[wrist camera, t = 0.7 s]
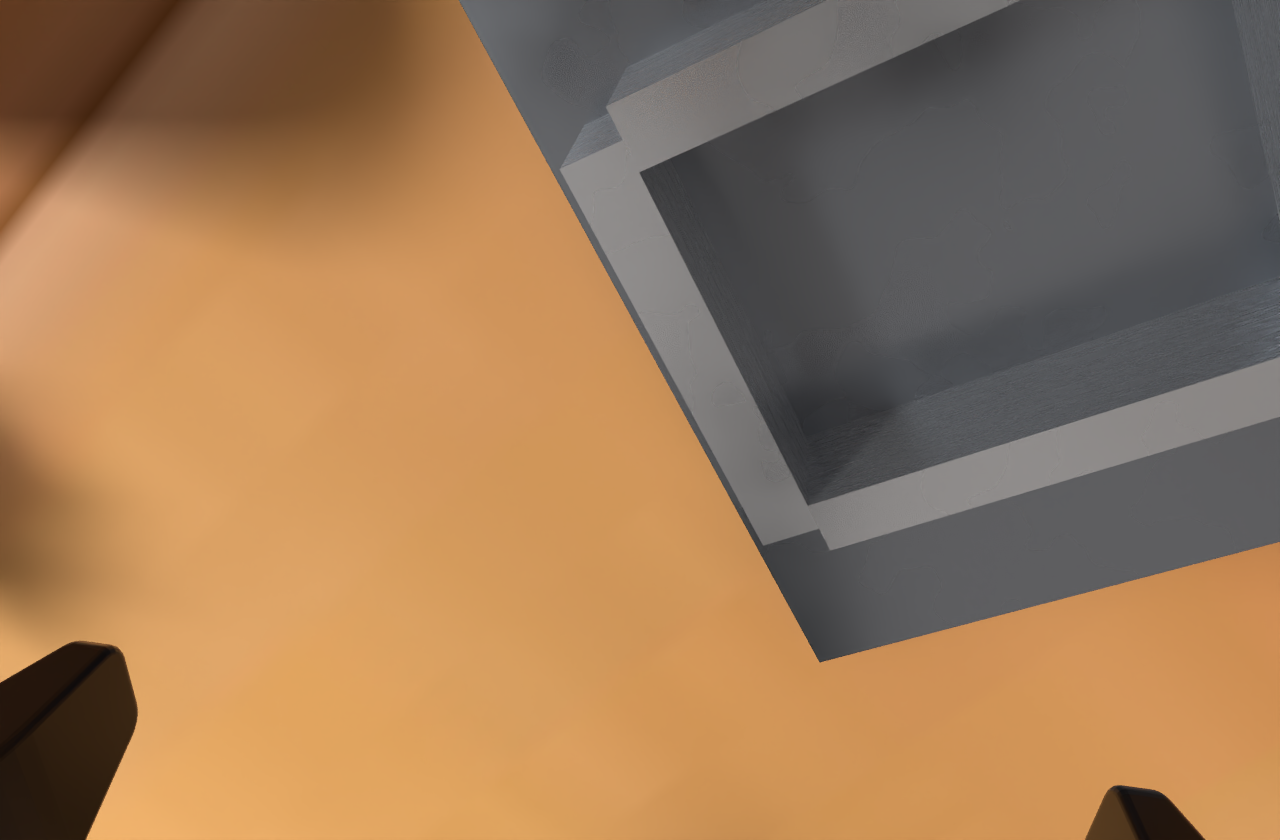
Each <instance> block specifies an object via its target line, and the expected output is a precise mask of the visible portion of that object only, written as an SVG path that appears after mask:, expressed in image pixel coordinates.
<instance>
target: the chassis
mask: <svg viewBox="0 0 1280 840" xmlns="http://www.w3.org/2000/svg"><path fill="white" fill-rule="evenodd" d="M459 1H460V3H461V5H462V7H463V9H464V11H465V12H466V14H467V16H468V18H469V20H470V22H471V23H472V25H473V27H474V29H475V31H476V33H477V34H478V36H479V38H480V40H481V42H482V44H483V45H484V47H485V49H486V51H487V53H488V55H489V56H490V58H491V60H492V62H493V64H494V66H495V67H496V69H497V71H498V73H499V75H500V77H501V79H502V80H503V82H504V84H505V86H506V88H507V90H508V91H509V93H510V95H511V97H512V99H513V101H514V102H515V104H516V106H517V108H518V110H519V112H520V113H521V115H522V117H523V119H524V121H525V123H526V124H527V126H528V128H529V130H530V132H531V134H532V135H533V137H534V139H535V141H536V143H537V145H538V146H539V148H540V150H541V152H542V154H543V156H544V157H545V159H546V161H547V163H548V165H549V167H550V168H551V170H552V172H553V174H554V176H555V178H556V179H557V181H558V183H559V185H560V187H561V189H562V190H563V192H564V194H565V196H566V198H567V200H568V201H569V203H570V205H571V207H572V209H573V211H574V212H575V214H576V216H577V218H578V220H579V222H580V223H581V225H582V227H583V229H584V231H585V233H586V234H587V236H588V238H589V240H590V242H591V244H592V246H593V247H594V249H595V251H596V253H597V255H598V257H599V258H600V260H601V262H602V264H603V266H604V268H605V269H606V271H607V273H608V275H609V277H610V279H611V280H612V282H613V284H614V286H615V288H616V290H617V291H618V293H619V295H620V297H621V299H622V301H623V302H624V304H625V306H626V308H627V310H628V312H629V313H630V315H631V317H632V319H633V321H634V323H635V324H636V326H637V328H638V330H639V332H640V334H641V335H642V337H643V339H644V341H645V343H646V345H647V346H648V348H649V350H650V352H651V354H652V356H653V357H654V359H655V361H656V363H657V365H658V367H659V368H660V370H661V372H662V374H663V376H664V378H665V379H666V381H667V383H668V385H669V387H670V389H671V390H672V392H673V394H674V396H675V398H676V400H677V401H678V403H679V405H680V407H681V409H682V411H683V413H684V414H685V416H686V418H687V420H688V422H689V424H690V425H691V427H692V429H693V431H694V433H695V435H696V436H697V438H698V440H699V442H700V444H701V446H702V447H703V449H704V451H705V453H706V455H707V457H708V458H709V460H710V462H711V464H712V466H713V468H714V469H715V471H716V473H717V475H718V477H719V479H720V480H721V482H722V484H723V486H724V488H725V490H726V491H727V493H728V495H729V497H730V499H731V501H732V502H733V504H734V506H735V508H736V510H737V512H738V513H739V515H740V517H741V519H742V521H743V523H744V524H745V526H746V528H747V530H748V532H749V534H750V535H751V537H752V539H753V541H754V543H755V545H756V546H757V548H758V550H759V552H760V554H761V556H762V557H763V559H764V561H765V563H766V565H767V567H768V568H769V570H770V572H771V574H772V576H773V578H774V580H775V581H776V583H777V585H778V587H779V589H780V591H781V592H782V594H783V596H784V598H785V600H786V602H787V603H788V605H789V607H790V609H791V611H792V613H793V614H794V616H795V618H796V620H797V622H798V624H799V625H800V627H801V629H802V631H803V633H804V635H805V636H806V638H807V640H808V642H809V644H810V646H811V647H812V649H813V651H814V653H815V655H816V657H817V658H818V660H819V662H823V661H827V660H831V659H834V658H838V657H842V656H846V655H850V654H853V653H857V652H861V651H865V650H869V649H873V648H876V647H880V646H884V645H888V644H892V643H895V642H899V641H903V640H907V639H911V638H914V637H918V636H922V635H926V634H930V633H934V632H937V631H941V630H945V629H949V628H953V627H956V626H960V625H964V624H968V623H972V622H975V621H979V620H983V619H987V618H991V617H995V616H998V615H1002V614H1006V613H1010V612H1014V611H1017V610H1021V609H1025V608H1029V607H1033V606H1036V605H1040V604H1044V603H1048V602H1052V601H1056V600H1059V599H1063V598H1067V597H1071V596H1075V595H1078V594H1082V593H1086V592H1090V591H1094V590H1097V589H1101V588H1105V587H1109V586H1113V585H1117V584H1120V583H1124V582H1128V581H1132V580H1136V579H1139V578H1143V577H1147V576H1151V575H1155V574H1158V573H1162V572H1166V571H1170V570H1174V569H1178V568H1181V567H1185V566H1189V565H1193V564H1197V563H1200V562H1204V561H1208V560H1212V559H1216V558H1219V557H1223V556H1227V555H1231V554H1235V553H1239V552H1242V551H1246V550H1250V549H1254V548H1258V547H1261V546H1265V545H1269V544H1273V543H1277V542H1280V0H459Z"/></svg>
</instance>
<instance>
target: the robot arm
mask: <svg viewBox="0 0 1280 840" xmlns="http://www.w3.org/2000/svg"><path fill="white" fill-rule="evenodd" d="M137 716H138V709H137V702H136V699H135V695H134V691H133V687H132V684H131V680H130V676H129V672H128V669H127V665H126V661H125V657H124V655H123V653H122V652H121V651H120V649H119V648H118V647H116V646H113V645H109V644H101V643H94V642H87V641H74V642H71V643H69V644H66V645H64V646H62V647H61V648H59V649H57V650H56V651H54V652H52V653H50V654H49V655H47V656H45V657H44V658H42V659H40V660H38V661H37V662H35V663H33V664H32V665H30V666H28V667H26V668H25V669H23V670H21V671H20V672H18V673H16V674H14V675H13V676H11V677H9V678H7V679H6V680H4V681H2V682H1V683H0V840H86V838H87V836H88V834H89V832H90V829H91V827H92V825H93V823H94V821H95V818H96V816H97V814H98V812H99V809H100V807H101V805H102V803H103V800H104V798H105V796H106V794H107V791H108V789H109V787H110V785H111V782H112V780H113V778H114V776H115V773H116V771H117V769H118V767H119V764H120V762H121V760H122V758H123V755H124V753H125V751H126V749H127V747H128V744H129V742H130V740H131V738H132V735H133V733H134V730H135V726H136V723H137ZM1085 840H1205V839H1204V838H1203V836H1202V835H1201V834H1200V833H1199V832H1198V831H1197V830H1196V829H1195V827H1194V826H1193V825H1192V824H1191V823H1190V822H1189V821H1188V820H1187V818H1186V817H1185V816H1184V815H1183V814H1182V813H1181V812H1180V811H1179V809H1178V808H1177V807H1176V806H1175V805H1174V804H1173V803H1172V802H1171V801H1170V800H1169V799H1168V798H1167V797H1166V796H1165V795H1163V794H1162V793H1160V792H1158V791H1155V790H1151V789H1144V788H1137V787H1129V786H1122V785H1117V786H1113V787H1112V788H1110V789H1109V790H1108V791H1107V793H1106V794H1105V796H1104V798H1103V801H1102V803H1101V805H1100V807H1099V809H1098V812H1097V814H1096V816H1095V818H1094V821H1093V823H1092V825H1091V827H1090V830H1089V832H1088V834H1087V836H1086V838H1085Z"/></svg>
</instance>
